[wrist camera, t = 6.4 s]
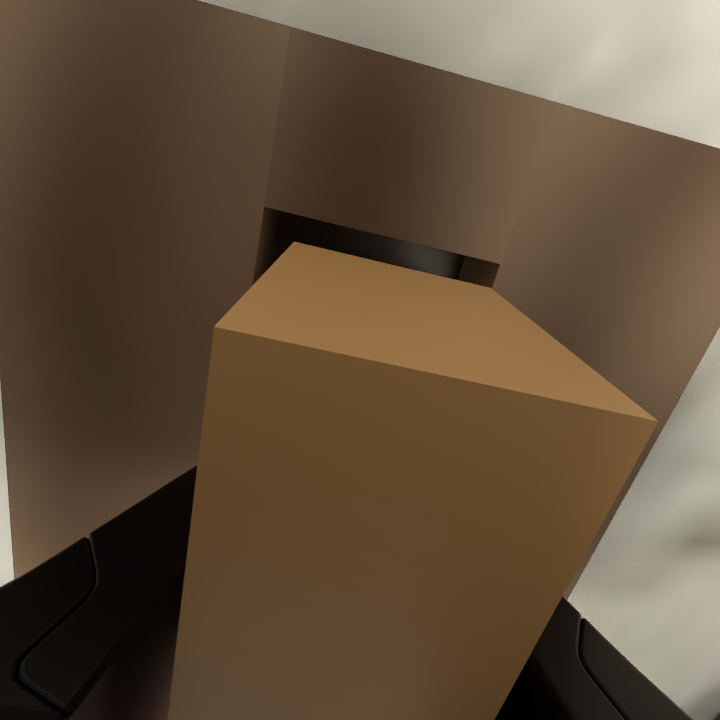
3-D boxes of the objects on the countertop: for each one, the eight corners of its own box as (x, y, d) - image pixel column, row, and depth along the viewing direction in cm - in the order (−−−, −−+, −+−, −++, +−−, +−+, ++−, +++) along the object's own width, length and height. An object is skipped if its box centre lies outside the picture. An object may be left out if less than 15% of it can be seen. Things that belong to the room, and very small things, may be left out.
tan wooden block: (455, 260, 9) (658, 420, 3) (364, 554, 12) (375, 936, 6) (309, 225, 9) (213, 325, 3) (252, 535, 12) (144, 917, 6)
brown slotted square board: (703, 174, 10) (805, 173, 8) (496, 605, 15) (522, 681, 13) (69, -2, 9) (-30, -64, 7) (72, 536, 14) (16, 607, 12)
